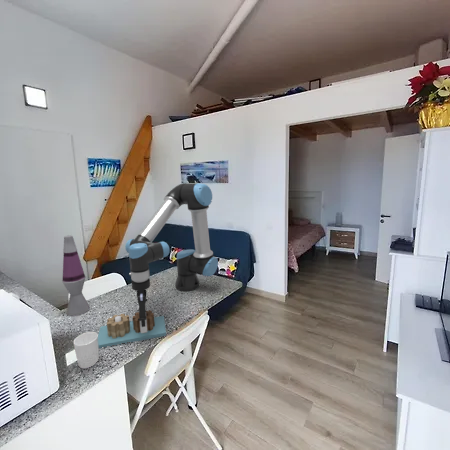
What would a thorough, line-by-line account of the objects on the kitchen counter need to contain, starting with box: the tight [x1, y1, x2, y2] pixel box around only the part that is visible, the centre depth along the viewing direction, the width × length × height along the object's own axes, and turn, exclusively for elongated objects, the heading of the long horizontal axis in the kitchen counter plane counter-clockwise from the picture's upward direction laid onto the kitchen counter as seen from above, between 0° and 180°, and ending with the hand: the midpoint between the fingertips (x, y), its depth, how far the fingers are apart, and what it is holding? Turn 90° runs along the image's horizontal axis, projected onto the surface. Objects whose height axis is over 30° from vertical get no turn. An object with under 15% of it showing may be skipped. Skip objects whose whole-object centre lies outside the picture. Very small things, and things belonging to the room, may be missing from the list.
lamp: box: [61, 234, 91, 317], centre depth 126 cm, size 11×11×40 cm
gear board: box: [97, 315, 167, 349], centre depth 110 cm, size 28×14×8 cm, turn 108°
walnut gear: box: [132, 309, 155, 333], centre depth 112 cm, size 9×9×6 cm
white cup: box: [73, 331, 100, 370], centre depth 93 cm, size 8×8×10 cm
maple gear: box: [106, 313, 130, 338], centre depth 109 cm, size 9×9×6 cm
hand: (144, 323), depth 112 cm, fingers open, 13 cm apart
